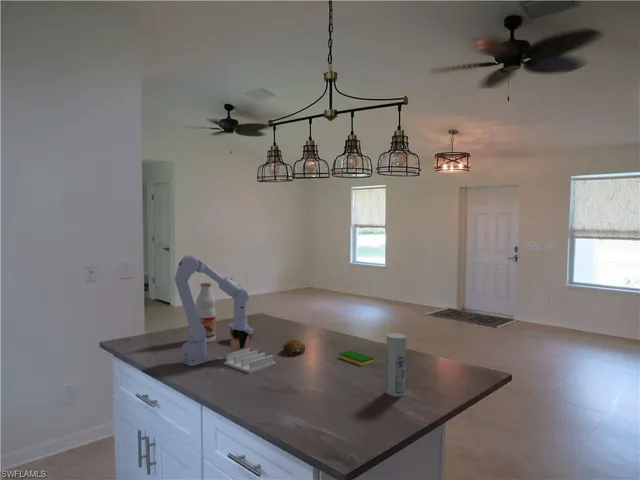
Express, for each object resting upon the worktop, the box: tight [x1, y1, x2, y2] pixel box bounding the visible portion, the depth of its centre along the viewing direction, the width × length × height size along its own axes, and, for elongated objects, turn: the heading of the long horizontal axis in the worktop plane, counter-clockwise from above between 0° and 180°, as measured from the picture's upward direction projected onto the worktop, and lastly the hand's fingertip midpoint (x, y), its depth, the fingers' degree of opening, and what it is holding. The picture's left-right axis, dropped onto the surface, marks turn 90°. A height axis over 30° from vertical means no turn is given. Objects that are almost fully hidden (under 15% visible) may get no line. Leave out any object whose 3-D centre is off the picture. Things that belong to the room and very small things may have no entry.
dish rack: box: [223, 347, 277, 374], centre depth 179 cm, size 14×16×4 cm
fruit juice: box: [195, 282, 217, 344], centre depth 213 cm, size 9×9×28 cm
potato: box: [229, 328, 255, 341], centre depth 213 cm, size 10×14×8 cm
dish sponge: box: [338, 349, 374, 367], centre depth 186 cm, size 7×14×2 cm, turn 41°
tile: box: [230, 337, 250, 353], centre depth 189 cm, size 8×2×8 cm, turn 140°
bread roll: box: [282, 338, 306, 357], centre depth 196 cm, size 10×10×8 cm
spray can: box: [385, 332, 407, 398], centre depth 151 cm, size 6×6×20 cm
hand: (240, 347), depth 189 cm, fingers closed on tile, 1 cm apart
